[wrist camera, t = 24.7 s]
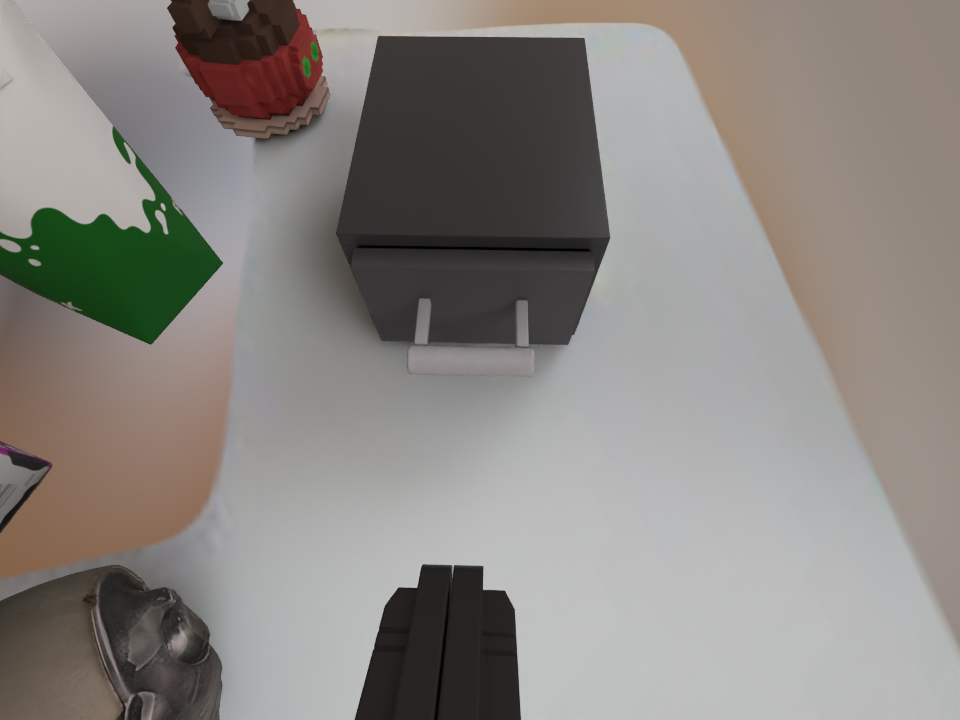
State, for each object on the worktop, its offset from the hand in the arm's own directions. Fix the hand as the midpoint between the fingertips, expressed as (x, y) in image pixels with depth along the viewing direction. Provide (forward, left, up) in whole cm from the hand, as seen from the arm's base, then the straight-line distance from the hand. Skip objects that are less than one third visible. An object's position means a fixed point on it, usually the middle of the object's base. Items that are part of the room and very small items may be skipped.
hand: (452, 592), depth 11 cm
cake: (+15, -38, -13) cm, 42 cm away
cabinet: (-2, -22, -13) cm, 26 cm away
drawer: (-2, -18, -12) cm, 22 cm away
